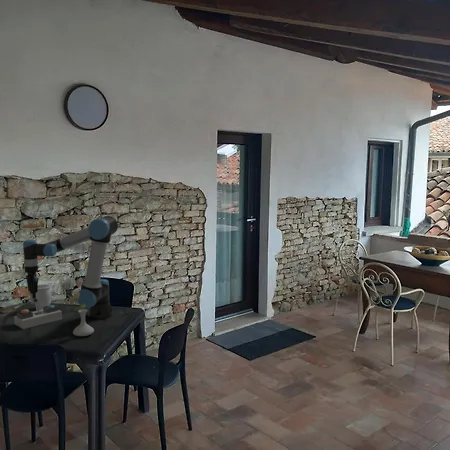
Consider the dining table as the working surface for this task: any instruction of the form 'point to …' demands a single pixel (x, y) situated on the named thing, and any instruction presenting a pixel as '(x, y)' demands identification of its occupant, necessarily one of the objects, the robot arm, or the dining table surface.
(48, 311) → the console
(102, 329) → the dining table surface
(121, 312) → the dining table surface
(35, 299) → the toggle lever
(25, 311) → the terracotta button
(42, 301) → the jar
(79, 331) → the flower in vase
